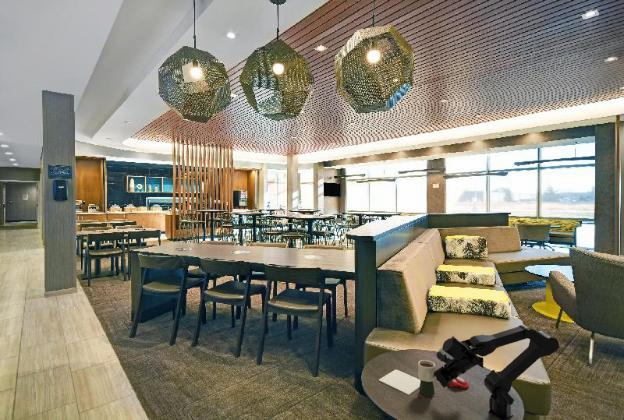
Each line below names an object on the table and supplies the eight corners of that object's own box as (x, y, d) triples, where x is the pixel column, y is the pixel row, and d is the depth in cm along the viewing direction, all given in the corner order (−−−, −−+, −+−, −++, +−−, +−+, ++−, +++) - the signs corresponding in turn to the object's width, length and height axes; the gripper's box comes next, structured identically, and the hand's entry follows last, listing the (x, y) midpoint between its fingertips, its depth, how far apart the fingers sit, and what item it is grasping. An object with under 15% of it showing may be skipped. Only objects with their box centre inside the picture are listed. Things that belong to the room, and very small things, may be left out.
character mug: (438, 401, 135) (437, 370, 135) (420, 400, 137) (420, 369, 136) (433, 387, 146) (432, 358, 146) (416, 385, 147) (416, 357, 147)
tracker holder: (474, 384, 146) (460, 385, 141) (470, 393, 147) (457, 394, 142) (451, 366, 157) (438, 367, 152) (448, 374, 157) (435, 375, 152)
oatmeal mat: (425, 383, 149) (425, 382, 149) (408, 395, 140) (408, 394, 140) (395, 370, 161) (395, 369, 161) (378, 380, 152) (378, 379, 152)
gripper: (459, 337, 139) (434, 354, 148) (438, 351, 127) (413, 368, 135) (478, 362, 134) (452, 378, 142) (458, 379, 121) (431, 395, 130)
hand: (437, 379), depth 137 cm, fingers closed
